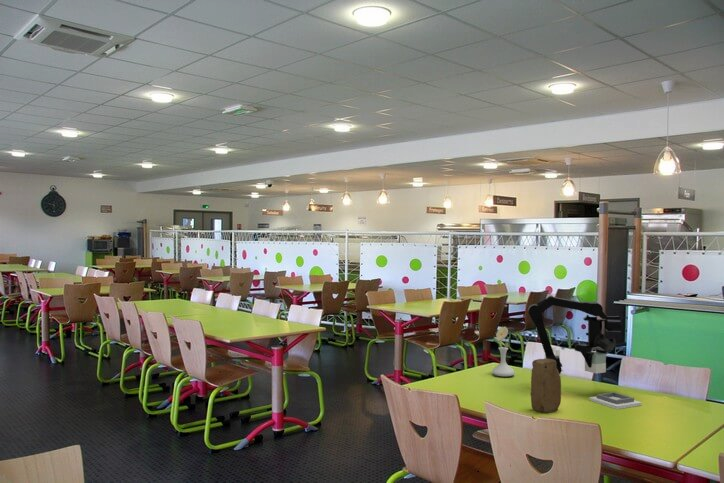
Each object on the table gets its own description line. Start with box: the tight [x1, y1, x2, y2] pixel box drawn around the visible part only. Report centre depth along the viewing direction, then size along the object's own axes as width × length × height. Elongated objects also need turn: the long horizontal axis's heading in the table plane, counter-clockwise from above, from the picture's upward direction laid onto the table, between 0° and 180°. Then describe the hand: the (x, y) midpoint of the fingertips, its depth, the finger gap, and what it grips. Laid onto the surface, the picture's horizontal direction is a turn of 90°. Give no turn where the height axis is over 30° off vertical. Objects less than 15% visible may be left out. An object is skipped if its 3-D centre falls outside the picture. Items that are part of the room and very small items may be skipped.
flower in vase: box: [491, 326, 516, 377], centre depth 277 cm, size 13×11×25 cm
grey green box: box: [584, 350, 607, 374], centre depth 242 cm, size 6×6×8 cm
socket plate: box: [588, 391, 643, 410], centre depth 230 cm, size 14×14×3 cm
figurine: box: [544, 345, 564, 376], centre depth 277 cm, size 7×9×15 cm
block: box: [530, 357, 562, 414], centre depth 219 cm, size 11×8×20 cm
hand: (595, 366), depth 242 cm, fingers closed on grey green box, 6 cm apart
